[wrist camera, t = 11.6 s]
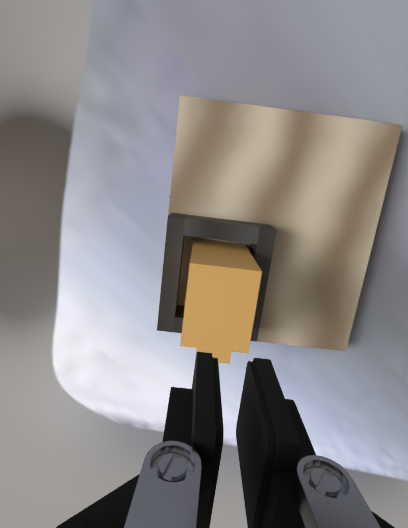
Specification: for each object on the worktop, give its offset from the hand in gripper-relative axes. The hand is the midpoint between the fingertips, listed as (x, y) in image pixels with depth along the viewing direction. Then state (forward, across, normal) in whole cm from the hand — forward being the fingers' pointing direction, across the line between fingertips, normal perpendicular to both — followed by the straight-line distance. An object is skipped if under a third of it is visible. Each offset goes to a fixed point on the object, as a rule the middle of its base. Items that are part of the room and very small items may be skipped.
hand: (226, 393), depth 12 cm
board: (+17, -4, -4) cm, 18 cm away
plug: (+16, 0, 0) cm, 16 cm away
